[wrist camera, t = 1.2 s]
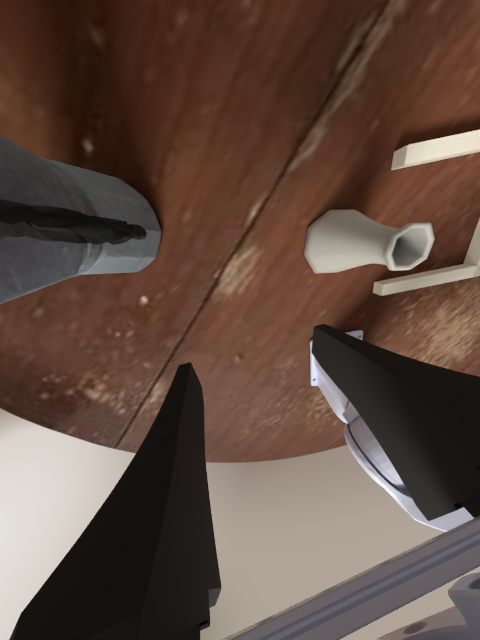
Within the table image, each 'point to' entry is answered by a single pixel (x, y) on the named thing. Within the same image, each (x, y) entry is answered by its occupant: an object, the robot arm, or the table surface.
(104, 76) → the table surface
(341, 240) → the flask
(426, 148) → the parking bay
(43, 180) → the moka pot
